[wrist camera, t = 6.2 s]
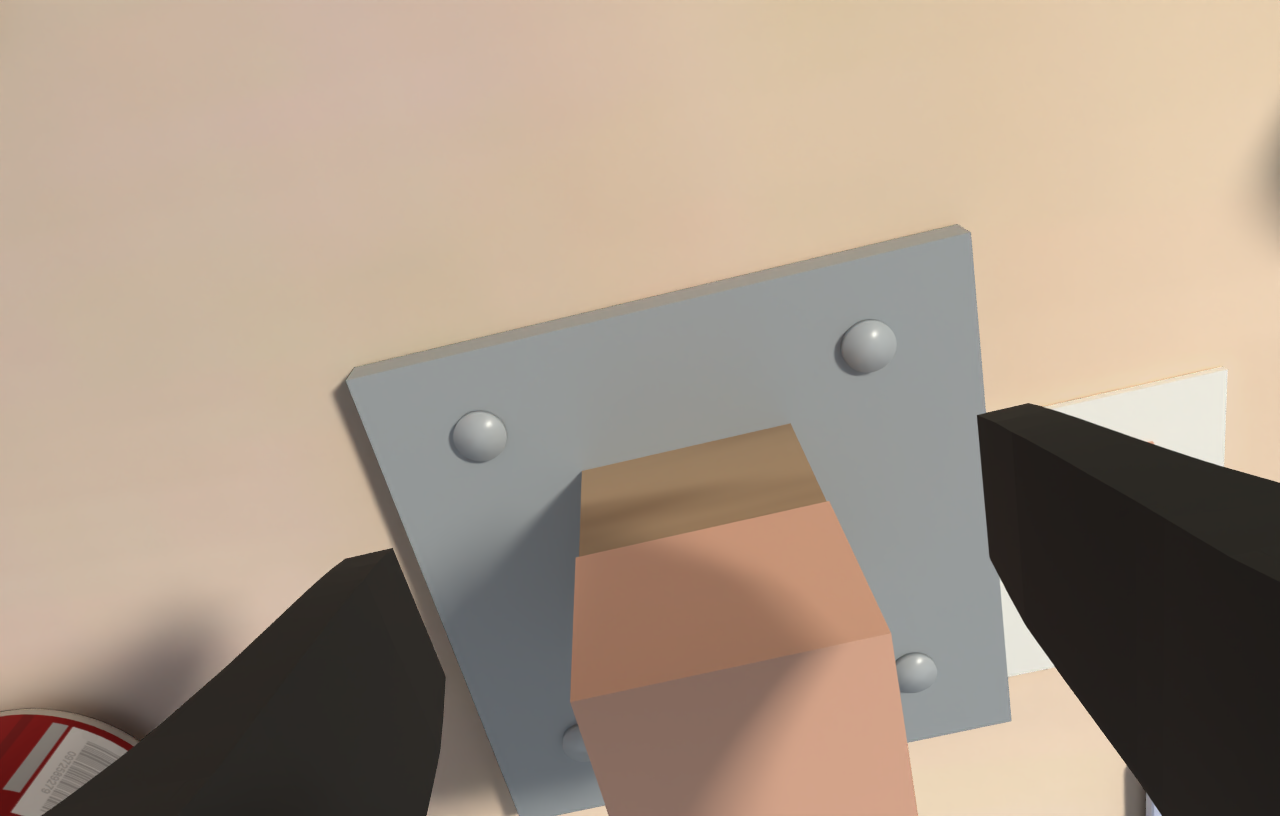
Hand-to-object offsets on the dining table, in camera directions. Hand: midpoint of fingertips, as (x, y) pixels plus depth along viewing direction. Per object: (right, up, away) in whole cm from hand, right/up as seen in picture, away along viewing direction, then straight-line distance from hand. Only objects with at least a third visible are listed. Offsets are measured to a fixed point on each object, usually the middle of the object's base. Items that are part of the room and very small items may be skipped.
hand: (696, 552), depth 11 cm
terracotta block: (+1, -3, +7) cm, 8 cm away
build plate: (+1, -2, +12) cm, 13 cm away
